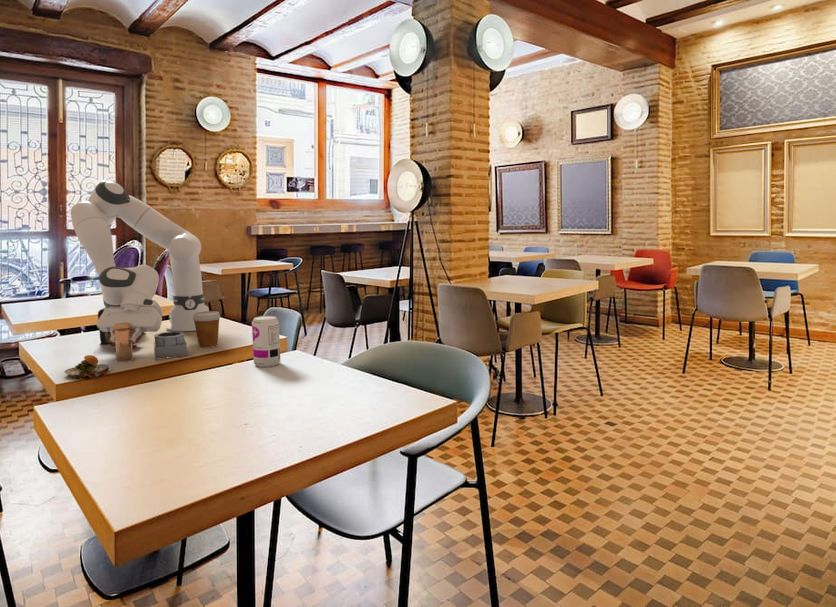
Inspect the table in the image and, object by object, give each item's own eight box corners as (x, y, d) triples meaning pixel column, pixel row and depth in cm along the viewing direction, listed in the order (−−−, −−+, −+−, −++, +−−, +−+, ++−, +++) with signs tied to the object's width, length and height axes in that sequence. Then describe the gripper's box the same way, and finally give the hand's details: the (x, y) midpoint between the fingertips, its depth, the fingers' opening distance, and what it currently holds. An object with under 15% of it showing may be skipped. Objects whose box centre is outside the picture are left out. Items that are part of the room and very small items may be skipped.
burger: (80, 369, 184) (77, 346, 183) (117, 369, 184) (115, 346, 183) (55, 380, 172) (52, 355, 171) (95, 380, 172) (93, 355, 171)
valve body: (187, 356, 199) (186, 335, 198) (155, 359, 195) (153, 338, 194) (184, 346, 213) (182, 327, 212) (153, 349, 209) (152, 330, 208)
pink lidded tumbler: (116, 358, 196) (112, 323, 194) (134, 357, 198) (131, 321, 196) (115, 362, 191) (112, 326, 189) (134, 360, 193) (131, 324, 192)
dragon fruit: (105, 355, 207) (139, 354, 216) (115, 344, 203) (149, 343, 212) (100, 334, 210) (134, 333, 219) (110, 322, 205) (144, 322, 215)
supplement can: (256, 368, 183) (253, 321, 180) (252, 362, 190) (249, 316, 188) (282, 366, 186) (280, 319, 183) (277, 360, 193) (275, 314, 191)
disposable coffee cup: (226, 343, 218) (224, 311, 216) (215, 349, 209) (213, 315, 207) (201, 342, 219) (199, 310, 217) (189, 348, 210) (187, 315, 208)
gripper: (101, 301, 199) (86, 335, 191) (160, 301, 198) (148, 336, 190) (109, 312, 204) (96, 346, 196) (167, 312, 203) (156, 346, 195)
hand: (122, 341), depth 193 cm, fingers closed on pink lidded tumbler, 5 cm apart
